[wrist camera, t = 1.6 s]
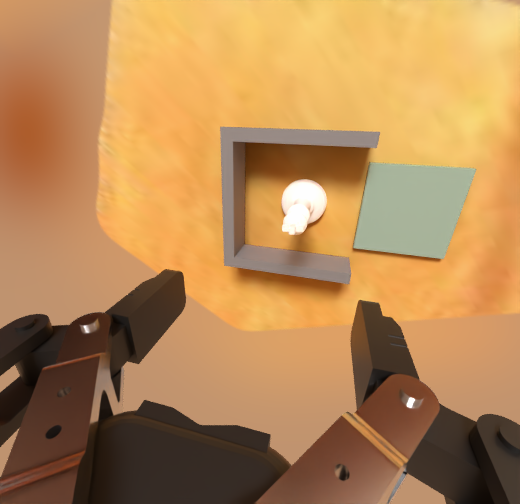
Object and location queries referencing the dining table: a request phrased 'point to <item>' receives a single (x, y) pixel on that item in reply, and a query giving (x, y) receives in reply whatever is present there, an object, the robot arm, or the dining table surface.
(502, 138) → the dining table surface
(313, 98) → the dining table surface
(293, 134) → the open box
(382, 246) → the mat
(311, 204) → the chess piece
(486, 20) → the dining table surface
